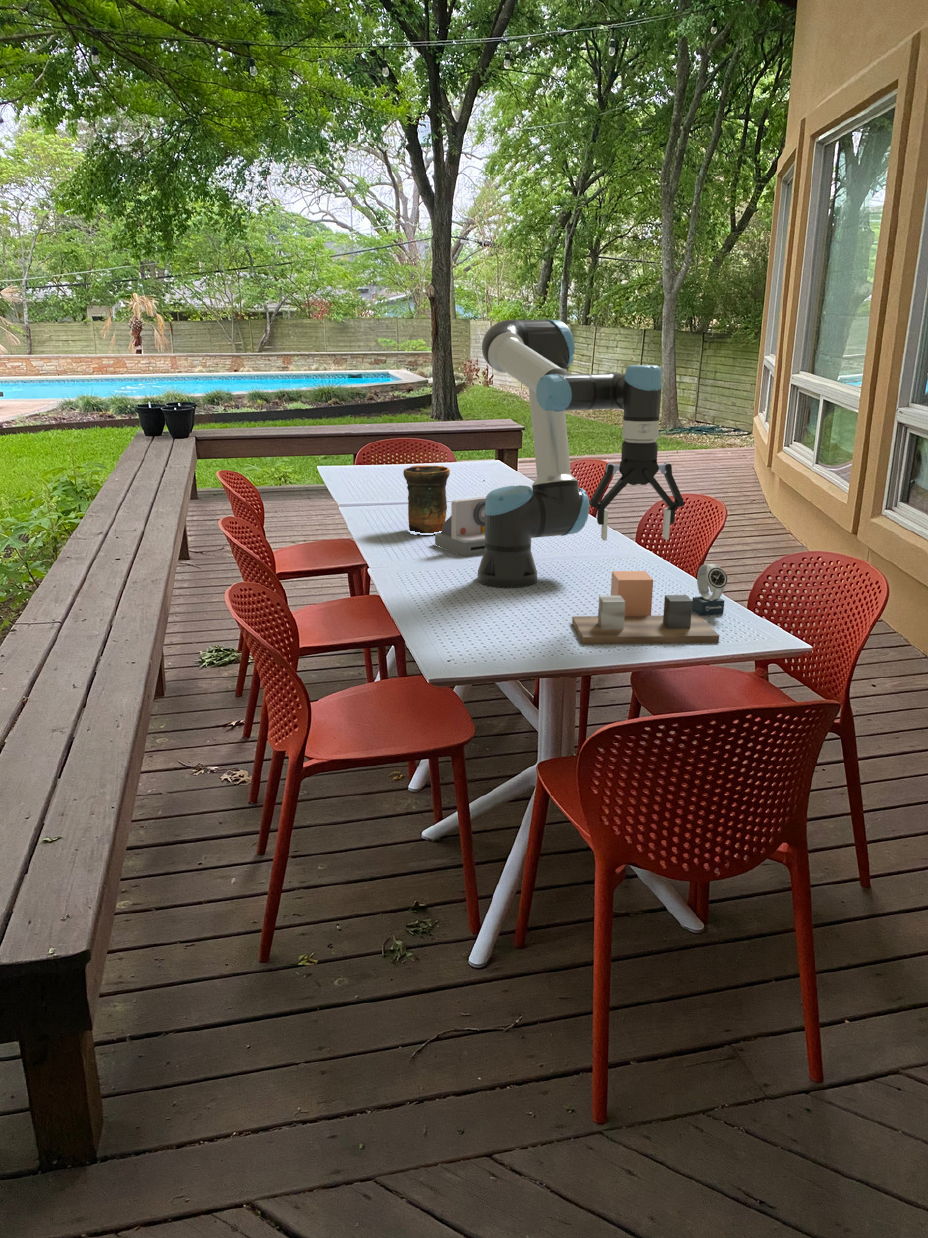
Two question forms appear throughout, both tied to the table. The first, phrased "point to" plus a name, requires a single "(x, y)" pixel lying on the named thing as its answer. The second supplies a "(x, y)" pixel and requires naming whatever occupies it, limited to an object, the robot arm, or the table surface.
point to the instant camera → (464, 528)
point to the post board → (644, 624)
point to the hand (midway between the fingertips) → (634, 539)
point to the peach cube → (633, 591)
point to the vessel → (426, 497)
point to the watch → (716, 582)
